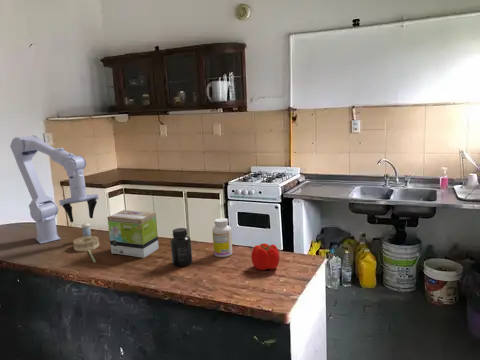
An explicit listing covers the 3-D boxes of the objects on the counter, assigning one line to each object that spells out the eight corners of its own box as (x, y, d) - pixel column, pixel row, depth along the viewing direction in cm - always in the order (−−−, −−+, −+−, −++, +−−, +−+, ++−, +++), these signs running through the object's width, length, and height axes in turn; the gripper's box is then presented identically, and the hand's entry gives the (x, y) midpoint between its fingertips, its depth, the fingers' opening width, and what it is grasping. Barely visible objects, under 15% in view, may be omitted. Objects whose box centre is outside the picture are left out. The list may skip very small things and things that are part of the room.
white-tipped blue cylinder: (82, 240, 169) (80, 224, 168) (90, 238, 171) (88, 222, 170) (85, 242, 167) (83, 225, 165) (92, 240, 169) (90, 224, 167)
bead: (71, 247, 162) (70, 239, 161) (94, 241, 167) (93, 234, 166) (78, 253, 155) (77, 245, 154) (102, 247, 160) (101, 239, 159)
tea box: (110, 254, 151) (106, 216, 149) (127, 245, 161) (123, 209, 158) (144, 258, 146) (140, 218, 143) (159, 248, 155) (156, 211, 152)
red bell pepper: (247, 267, 133) (245, 245, 132) (267, 260, 139) (266, 239, 137) (265, 276, 126) (264, 253, 125) (286, 268, 131) (286, 246, 130)
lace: (88, 251, 156) (87, 250, 156) (89, 250, 157) (89, 249, 156) (93, 262, 144) (93, 261, 144) (95, 262, 144) (95, 261, 144)
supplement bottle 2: (221, 249, 151) (219, 216, 148) (236, 252, 147) (234, 218, 145) (210, 255, 145) (207, 221, 143) (225, 259, 142) (223, 223, 139)
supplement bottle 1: (195, 260, 141) (193, 227, 139) (187, 268, 135) (184, 233, 133) (178, 258, 144) (175, 226, 142) (168, 266, 137) (165, 232, 135)
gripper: (60, 191, 154) (65, 225, 157) (99, 185, 163) (102, 218, 165) (56, 188, 160) (60, 221, 162) (93, 182, 168) (97, 214, 171)
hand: (81, 219), depth 164 cm, fingers open, 7 cm apart
